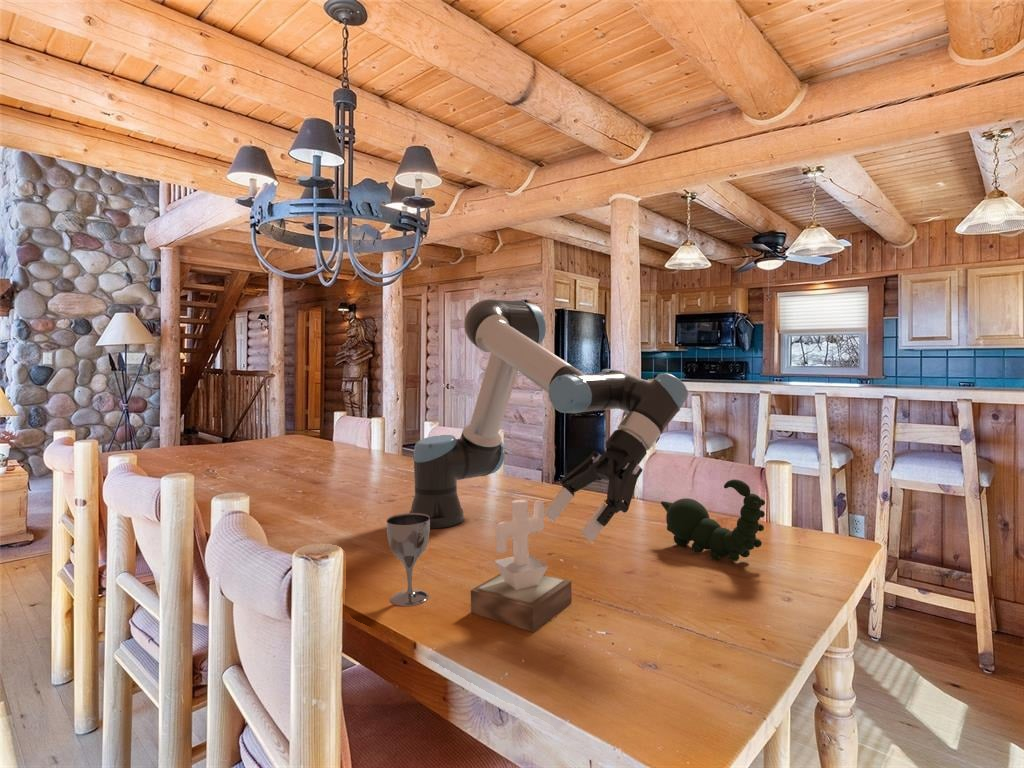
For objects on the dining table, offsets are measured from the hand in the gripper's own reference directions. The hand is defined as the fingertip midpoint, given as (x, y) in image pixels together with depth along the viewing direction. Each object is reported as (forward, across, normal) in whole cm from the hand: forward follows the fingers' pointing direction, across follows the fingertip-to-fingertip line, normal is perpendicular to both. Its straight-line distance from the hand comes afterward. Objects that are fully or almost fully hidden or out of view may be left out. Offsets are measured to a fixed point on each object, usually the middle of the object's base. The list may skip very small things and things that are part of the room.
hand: (566, 527), depth 101 cm
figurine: (+13, 0, 0) cm, 13 cm away
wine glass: (+28, +13, +9) cm, 32 cm away
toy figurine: (-19, +6, -38) cm, 43 cm away
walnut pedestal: (+16, 0, -3) cm, 16 cm away
